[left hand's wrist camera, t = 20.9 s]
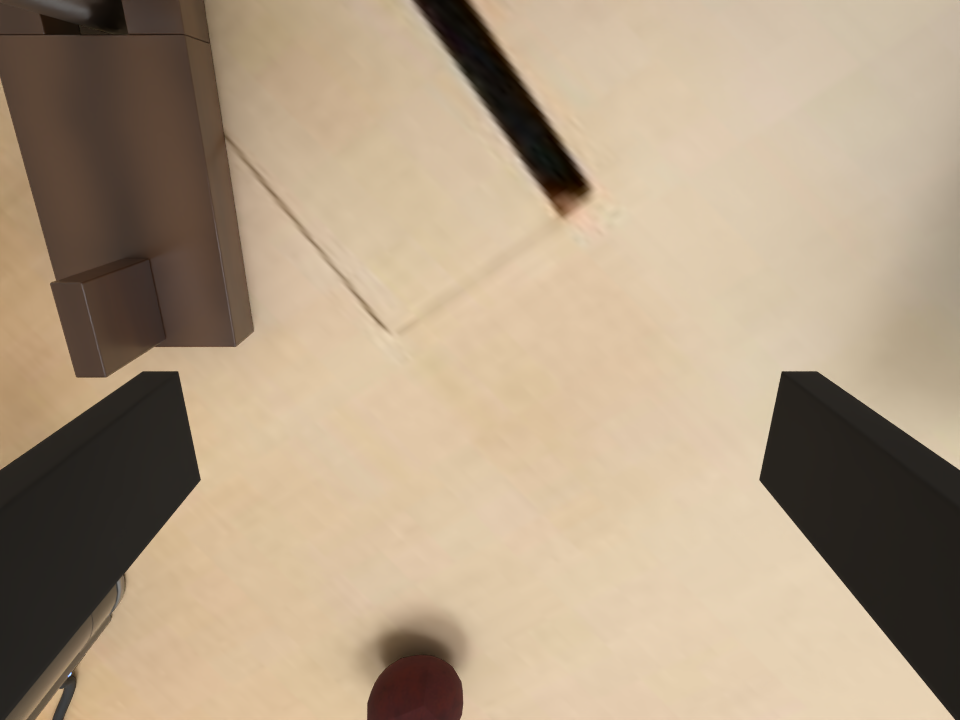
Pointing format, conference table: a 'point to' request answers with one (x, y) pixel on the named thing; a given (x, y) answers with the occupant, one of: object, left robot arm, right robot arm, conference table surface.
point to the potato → (416, 691)
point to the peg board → (128, 180)
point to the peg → (80, 12)
